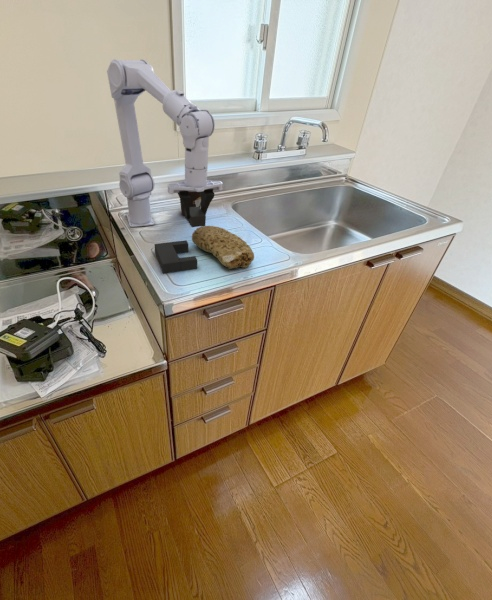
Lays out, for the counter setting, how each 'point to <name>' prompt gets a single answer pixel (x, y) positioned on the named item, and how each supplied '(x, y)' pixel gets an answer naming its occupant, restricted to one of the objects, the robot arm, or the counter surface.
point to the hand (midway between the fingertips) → (195, 216)
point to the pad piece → (196, 217)
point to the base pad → (174, 257)
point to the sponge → (223, 246)
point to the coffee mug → (193, 200)
